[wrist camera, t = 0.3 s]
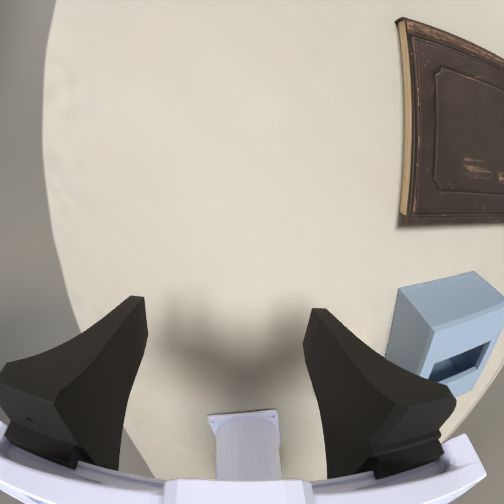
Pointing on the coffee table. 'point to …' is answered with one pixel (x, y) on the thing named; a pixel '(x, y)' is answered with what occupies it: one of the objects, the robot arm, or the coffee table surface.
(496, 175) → the hardcover book
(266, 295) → the coffee table surface
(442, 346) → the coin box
